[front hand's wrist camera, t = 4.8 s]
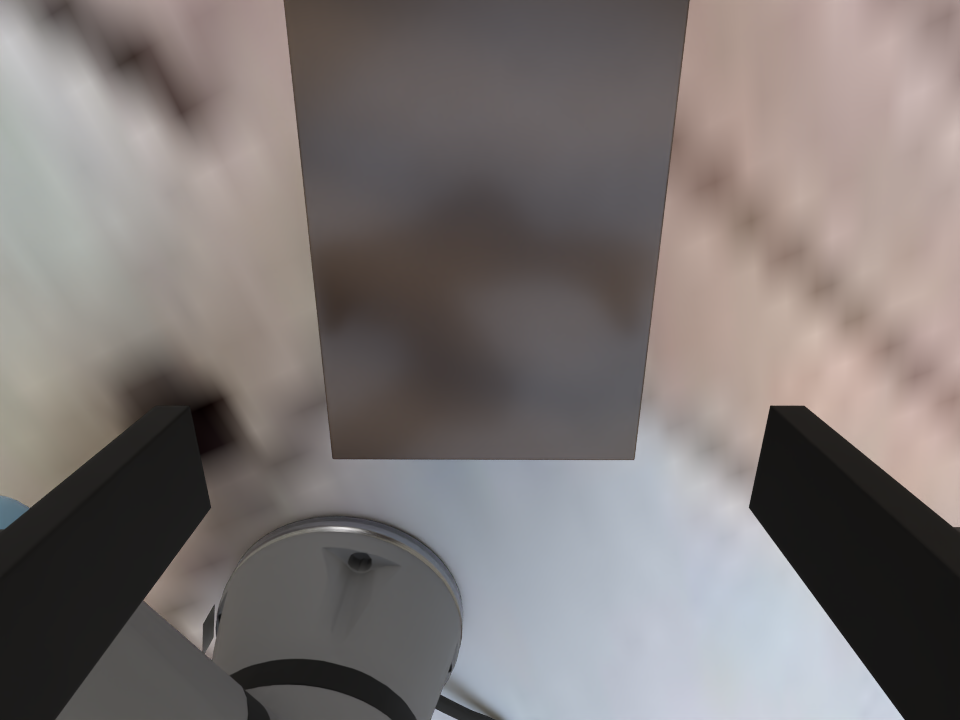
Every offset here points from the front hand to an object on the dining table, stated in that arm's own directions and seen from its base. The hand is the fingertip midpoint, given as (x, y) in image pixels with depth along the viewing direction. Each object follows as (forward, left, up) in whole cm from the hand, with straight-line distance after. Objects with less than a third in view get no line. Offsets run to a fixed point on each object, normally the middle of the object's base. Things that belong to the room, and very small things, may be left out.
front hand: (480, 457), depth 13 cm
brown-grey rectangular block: (+5, -3, -17) cm, 18 cm away
